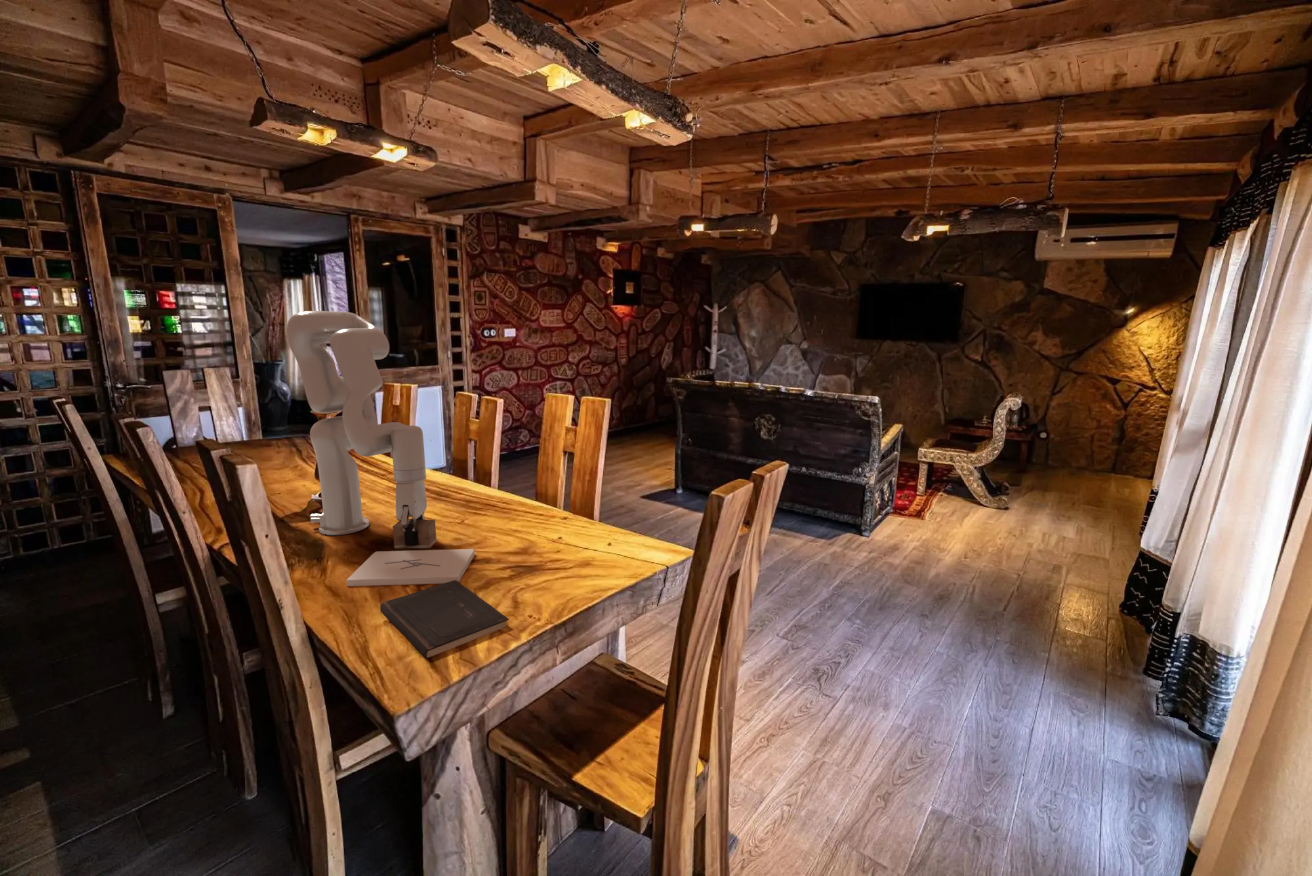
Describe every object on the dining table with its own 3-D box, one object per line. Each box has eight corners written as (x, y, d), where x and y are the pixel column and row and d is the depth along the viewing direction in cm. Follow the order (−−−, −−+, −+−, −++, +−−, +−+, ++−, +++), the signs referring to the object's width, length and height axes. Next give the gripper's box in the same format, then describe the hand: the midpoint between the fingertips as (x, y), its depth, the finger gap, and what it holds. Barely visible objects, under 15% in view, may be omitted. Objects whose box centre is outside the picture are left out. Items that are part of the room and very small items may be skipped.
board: (347, 586, 126) (346, 579, 126) (375, 557, 142) (375, 551, 141) (458, 582, 128) (457, 576, 128) (474, 554, 144) (474, 548, 143)
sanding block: (394, 548, 147) (392, 526, 146) (402, 541, 152) (400, 519, 151) (429, 548, 148) (428, 526, 146) (436, 540, 153) (435, 519, 151)
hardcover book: (456, 589, 126) (455, 579, 126) (509, 629, 110) (508, 618, 109) (380, 613, 115) (379, 603, 115) (426, 662, 99) (425, 650, 98)
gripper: (406, 466, 154) (412, 530, 158) (382, 483, 138) (388, 554, 141) (435, 465, 155) (439, 529, 158) (414, 482, 138) (420, 553, 142)
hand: (415, 540), depth 150 cm, fingers closed on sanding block, 5 cm apart
